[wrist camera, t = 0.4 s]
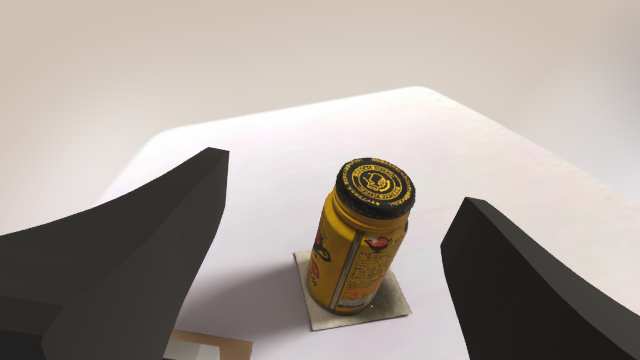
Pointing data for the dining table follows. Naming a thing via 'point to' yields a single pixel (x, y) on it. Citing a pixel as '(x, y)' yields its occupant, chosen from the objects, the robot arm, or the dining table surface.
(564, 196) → the dining table surface
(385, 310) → the condiment
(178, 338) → the base
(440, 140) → the dining table surface
